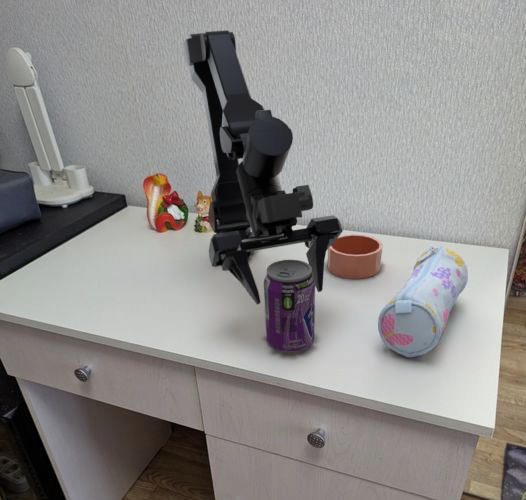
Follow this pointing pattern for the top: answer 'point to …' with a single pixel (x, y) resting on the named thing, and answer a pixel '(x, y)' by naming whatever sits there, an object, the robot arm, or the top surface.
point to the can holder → (355, 256)
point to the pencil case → (423, 303)
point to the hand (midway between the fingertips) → (290, 297)
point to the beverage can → (289, 305)
